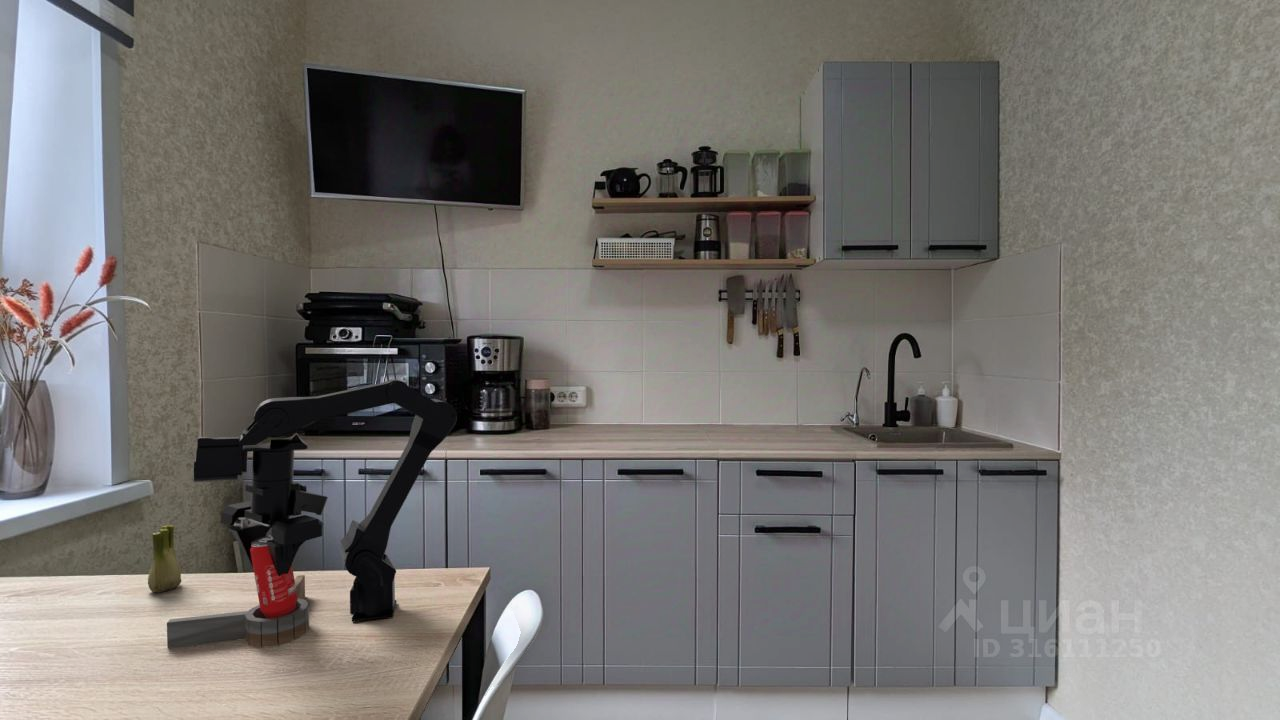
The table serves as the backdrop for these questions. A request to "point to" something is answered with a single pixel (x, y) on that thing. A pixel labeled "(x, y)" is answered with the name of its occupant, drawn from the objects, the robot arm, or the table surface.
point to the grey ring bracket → (242, 626)
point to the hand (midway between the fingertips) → (269, 574)
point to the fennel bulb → (164, 562)
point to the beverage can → (272, 582)
